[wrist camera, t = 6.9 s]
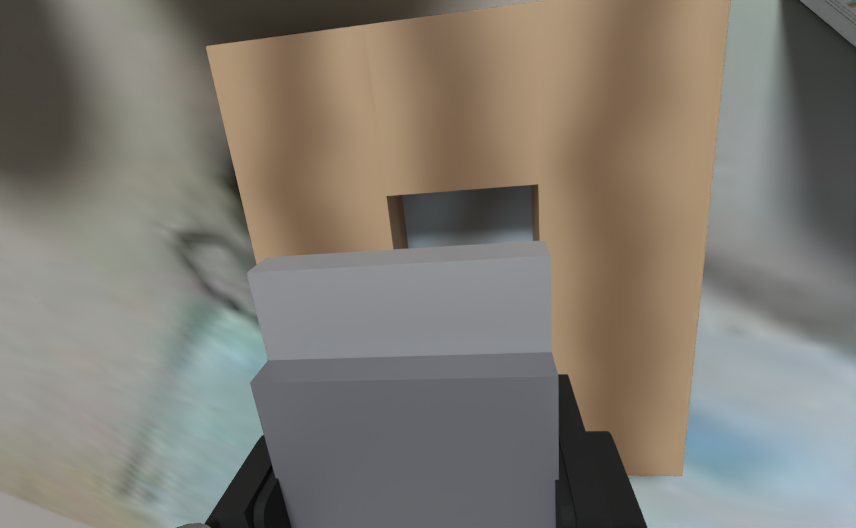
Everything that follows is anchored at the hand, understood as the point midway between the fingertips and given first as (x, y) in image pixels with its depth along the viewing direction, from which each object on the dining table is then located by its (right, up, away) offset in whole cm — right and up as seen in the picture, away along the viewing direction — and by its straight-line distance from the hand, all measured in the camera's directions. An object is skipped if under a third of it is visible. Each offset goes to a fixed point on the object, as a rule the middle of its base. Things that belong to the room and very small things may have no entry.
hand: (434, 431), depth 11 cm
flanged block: (0, +1, +2) cm, 2 cm away
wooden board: (+2, +5, +13) cm, 14 cm away
